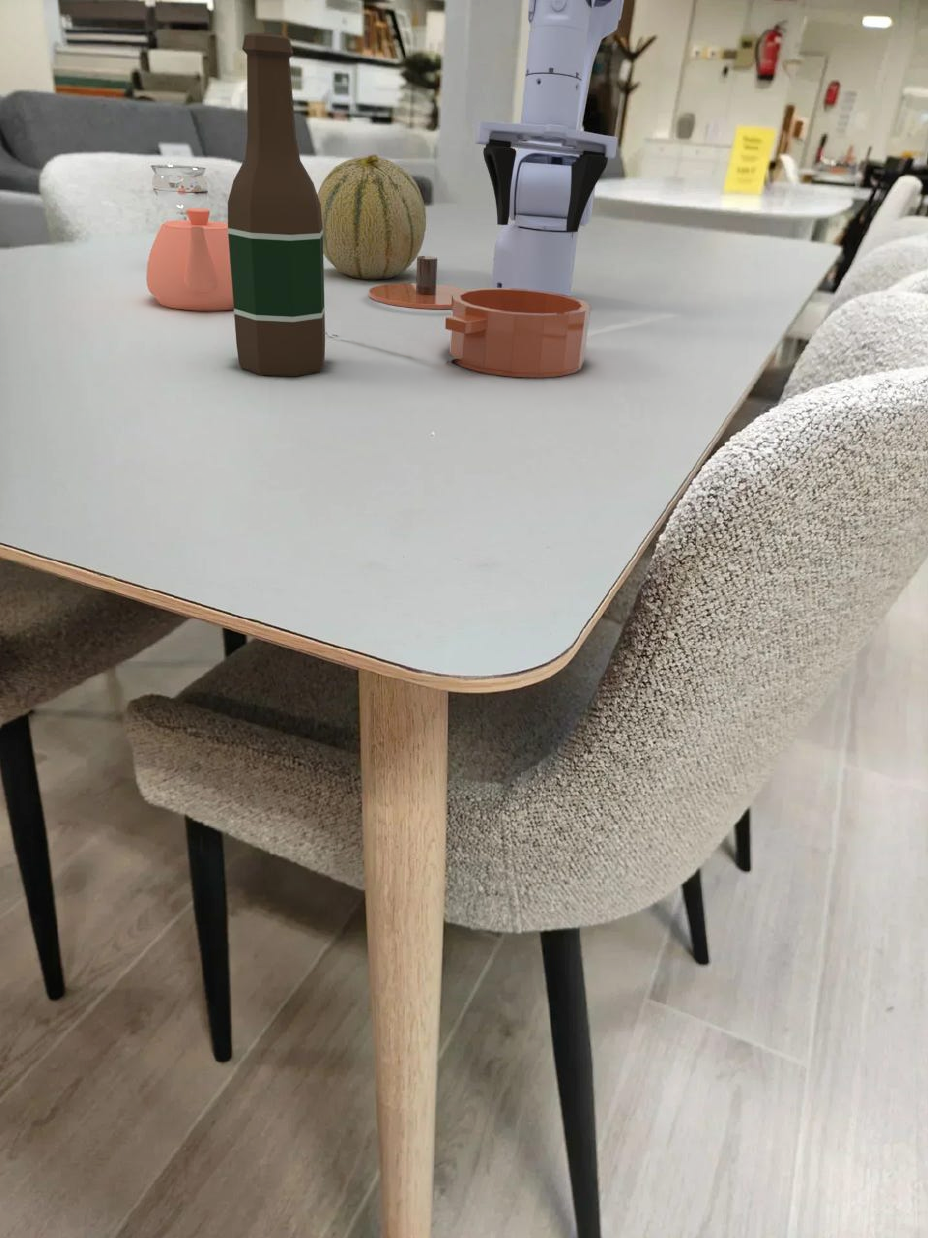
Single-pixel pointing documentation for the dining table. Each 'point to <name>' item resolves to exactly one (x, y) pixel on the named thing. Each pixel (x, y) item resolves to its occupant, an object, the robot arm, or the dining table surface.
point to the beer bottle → (275, 228)
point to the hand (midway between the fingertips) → (537, 228)
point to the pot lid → (418, 289)
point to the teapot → (191, 264)
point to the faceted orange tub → (518, 332)
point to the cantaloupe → (371, 218)
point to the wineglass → (180, 187)
